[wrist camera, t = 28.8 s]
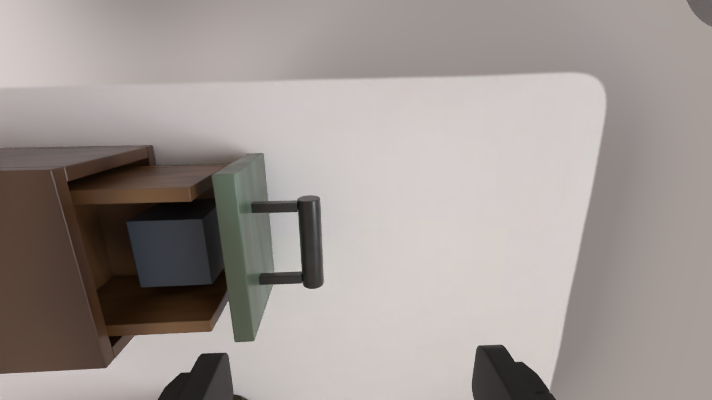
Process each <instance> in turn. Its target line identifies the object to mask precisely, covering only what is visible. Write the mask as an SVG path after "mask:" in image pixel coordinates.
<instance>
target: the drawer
mask: <svg viewBox="0 0 712 400" xmlns="http://www.w3.org/2000/svg"><path fill="white" fill-rule="evenodd" d="M67 184H68V188H69V191H70V195H71V199H72V202H73V206H74V210H75V214H76V217H77V221H78V225H79V228H80V232H81V236H82V240H83V243H84V247H85V251H86V254H87V258H88V262H89V266H90V269H91V273H92V277H93V280H94V284H95V288H96V292H97V295H98V299H99V303H100V306H101V310H102V314H103V317H104V321H105V325H106V329H107V332H108V336H128V335H148V334H168V333H189V332H209V331H212V330H213V328H214V326H215V324H216V322H217V321H218V319H219V317H220V315H221V313H222V311H223V309H224V308H225V306H226V304H227V302H228V300H229V304H230V311H231V319H232V326H233V333H234V340H235V342H247V341H254V340H255V337H256V334H257V331H258V328H259V325H260V322H261V319H262V316H263V313H264V310H265V307H266V304H267V301H268V298H269V295H270V292H271V289H272V286H273V284H295V283H302V281H303V286H304V287H306V288H309V289H315V288H319V287H321V286H322V285H323V283H324V278H323V255H322V231H321V208H320V198H319V197H318V196H302V197H300V198H298V200H297V201H268V197H267V186H266V175H265V164H264V154H263V153H254V154H246V155H245V156H243V157H241V158H239V159H238V160H236V161H234V162H233V163H231V164H229V165H228V164H218V165H170V166H121V167H115V168H112V169H109V170H105V171H102V172H99V173H95V174H92V175H89V176H85V177H82V178H79V179H75V180H72V181H69V182H67ZM194 199H215V203H216V211H217V218H218V225H219V232H220V239H221V247H222V254H223V261H224V268H223V269H222V271H221V272H220V274H219V275H218V277H217V278H216V280H215V281H214V283H213V284H207V285H184V286H162V287H141V286H140V282H139V277H138V273H137V269H136V264H135V260H134V255H133V251H132V247H131V242H130V238H129V234H128V229H127V225H126V221H128V220H130V219H131V218H133V217H135V216H137V215H138V214H140V213H142V212H144V211H145V210H147V209H149V208H151V207H152V206H154V205H156V204H158V203H161V202H191V201H192V200H194ZM278 212H298V216H299V232H300V248H301V264H302V272H279V273H274V264H273V253H272V242H271V231H270V220H269V213H278Z"/></svg>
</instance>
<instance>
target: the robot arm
mask: <svg viewBox="0 0 712 400" xmlns="http://www.w3.org/2000/svg"><path fill="white" fill-rule="evenodd" d="M472 392H473V397H474V400H556V399H555V398H554V397H553V395H552V394H551V393H549V389H548V388H547V387H546V385H545V384H544V383H543V381H542V380H541V378H540V377H539V376H538V374H536V373H535V372H534V371H533V370H532V369H530V368H529V367H528V366H527V365H525V364H524V363H523V362H515V361H514V360H513V358H512V357H511V355H510V354H509V352H508V351H507V349H506V348H505V347H504V346H503V345H481V346H478V347H477V349H476V356H475V363H474V370H473V378H472ZM158 400H233V385H232V378H231V371H230V363H229V357H228V354H227V353H207V354H201V355H200V356H199V357H198V359H197V361H196V363H195V365H194V366H193V368H192V370H191V372H190V373H180V374H179V375H178V376H177V377H176V378H175V379H174V380H173V381H172V382H170V383H169V384H168V385H167V386H166V387H165V389H164V390H163V392H162V393H161V395H160V397H159V398H158Z"/></svg>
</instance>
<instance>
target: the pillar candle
mask: <svg viewBox="0 0 712 400" xmlns="http://www.w3.org/2000/svg"><path fill="white" fill-rule="evenodd" d="M233 400H246V399H244V398H243V397H239V396H237V395H233Z"/></svg>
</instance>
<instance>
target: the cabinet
mask: <svg viewBox="0 0 712 400" xmlns="http://www.w3.org/2000/svg"><path fill="white" fill-rule="evenodd" d="M121 166H156V162H155V156H154V151H153V146H152V145H147V146H88V147H30V148H0V374H6V373H25V372H43V371H62V370H80V369H99V368H106V367H108V365H109V364H110V363H111V362H112V361H113V360H114V358H116V357H117V355H118V354H119V353H120V352H121V351H122V350H123V348H124V347H125V346H126V345H127V344H128V343H129V341H130V340H131V339H132V338H133V337H134V336H135V335H128V336H108V332H107V329H106V325H105V321H104V317H103V314H102V310H101V306H100V303H99V299H98V295H97V292H96V288H95V284H94V280H93V277H92V273H91V269H90V266H89V262H88V258H87V254H86V251H85V247H84V243H83V240H82V236H81V232H80V228H79V225H78V221H77V217H76V214H75V210H74V206H73V202H72V199H71V195H70V191H69V188H68V184H67V182H69V181H72V180H75V179H79V178H82V177H85V176H89V175H92V174H95V173H99V172H102V171H105V170H109V169H112V168H115V167H121Z"/></svg>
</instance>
